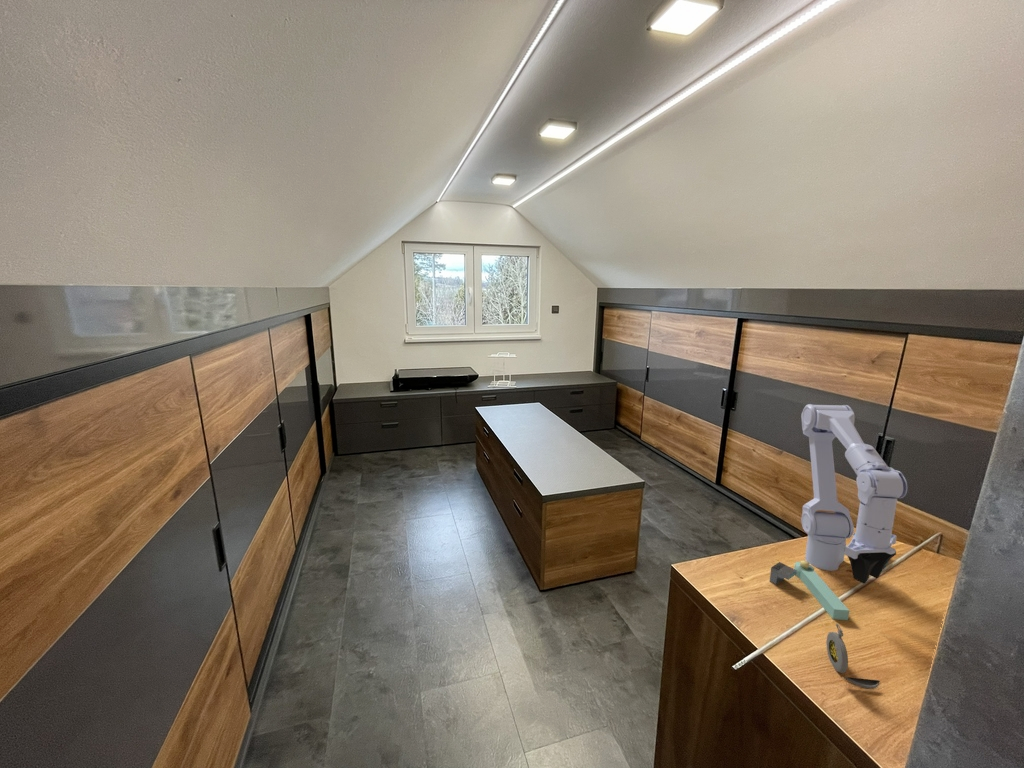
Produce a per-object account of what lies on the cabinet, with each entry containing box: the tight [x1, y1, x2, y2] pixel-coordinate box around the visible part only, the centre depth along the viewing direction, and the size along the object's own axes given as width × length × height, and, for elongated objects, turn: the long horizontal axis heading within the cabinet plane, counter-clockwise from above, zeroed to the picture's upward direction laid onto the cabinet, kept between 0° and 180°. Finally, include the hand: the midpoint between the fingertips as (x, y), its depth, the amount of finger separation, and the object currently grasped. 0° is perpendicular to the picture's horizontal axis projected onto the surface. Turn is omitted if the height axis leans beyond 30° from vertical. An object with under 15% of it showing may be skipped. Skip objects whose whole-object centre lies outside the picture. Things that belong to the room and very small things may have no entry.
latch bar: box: [793, 559, 850, 621], centre depth 97 cm, size 17×4×4 cm, turn 171°
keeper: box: [769, 561, 797, 586], centre depth 101 cm, size 4×4×5 cm
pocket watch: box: [826, 622, 881, 689], centre depth 77 cm, size 8×8×10 cm
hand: (865, 578), depth 90 cm, fingers open, 4 cm apart
